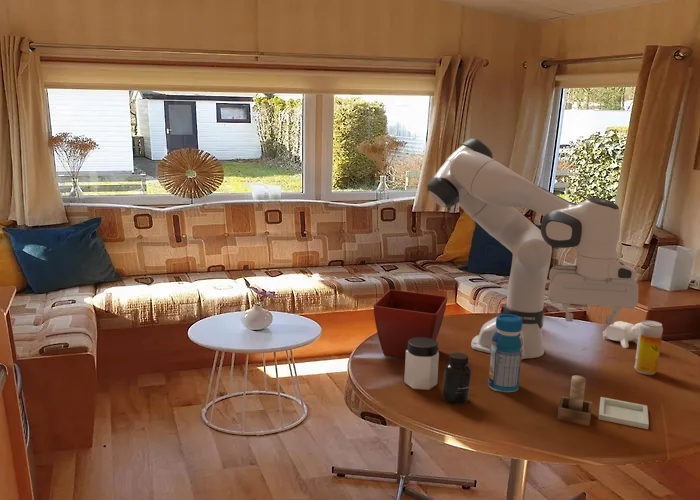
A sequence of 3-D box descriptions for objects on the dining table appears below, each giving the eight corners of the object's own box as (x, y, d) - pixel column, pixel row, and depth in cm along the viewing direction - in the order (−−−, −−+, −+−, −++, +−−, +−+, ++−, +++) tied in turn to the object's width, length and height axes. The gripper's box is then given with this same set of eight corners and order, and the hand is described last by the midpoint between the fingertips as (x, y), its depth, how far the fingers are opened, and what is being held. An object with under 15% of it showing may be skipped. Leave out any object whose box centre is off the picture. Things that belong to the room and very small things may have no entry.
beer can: (659, 376, 179) (666, 327, 176) (636, 374, 180) (643, 325, 177) (653, 368, 185) (660, 320, 182) (631, 366, 186) (638, 319, 183)
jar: (442, 387, 167) (445, 345, 165) (416, 392, 164) (419, 349, 161) (424, 374, 175) (426, 334, 173) (399, 379, 172) (401, 338, 169)
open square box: (556, 421, 150) (558, 408, 150) (559, 408, 157) (561, 396, 156) (589, 428, 148) (590, 414, 147) (590, 415, 154) (592, 402, 153)
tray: (598, 421, 151) (599, 414, 151) (599, 403, 161) (600, 396, 161) (647, 431, 147) (648, 424, 146) (646, 412, 157) (647, 405, 156)
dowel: (566, 417, 151) (571, 379, 149) (568, 411, 154) (572, 374, 152) (580, 420, 150) (585, 381, 148) (581, 414, 153) (586, 376, 151)
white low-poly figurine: (602, 349, 208) (643, 347, 195) (597, 324, 209) (637, 320, 196) (618, 345, 213) (659, 342, 200) (613, 320, 213) (653, 316, 201)
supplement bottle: (462, 407, 156) (466, 363, 154) (437, 400, 160) (440, 356, 157) (472, 397, 162) (476, 354, 159) (448, 391, 165) (451, 348, 163)
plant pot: (433, 369, 180) (436, 313, 176) (370, 359, 185) (372, 305, 182) (444, 347, 197) (448, 296, 194) (387, 338, 203) (389, 289, 200)
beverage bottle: (503, 396, 163) (510, 324, 159) (480, 384, 170) (486, 315, 166) (525, 390, 167) (532, 319, 163) (502, 378, 174) (509, 310, 170)
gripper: (552, 267, 146) (546, 323, 149) (644, 272, 143) (636, 329, 146) (548, 261, 152) (543, 315, 155) (636, 266, 149) (629, 321, 152)
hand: (589, 322), depth 150 cm, fingers open, 8 cm apart
